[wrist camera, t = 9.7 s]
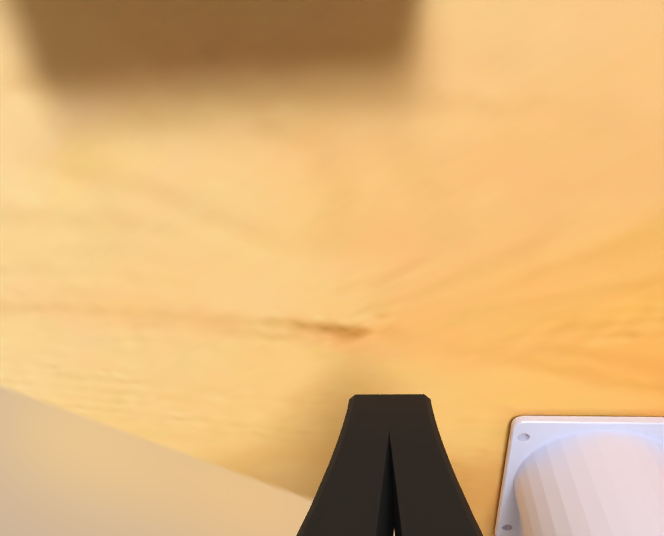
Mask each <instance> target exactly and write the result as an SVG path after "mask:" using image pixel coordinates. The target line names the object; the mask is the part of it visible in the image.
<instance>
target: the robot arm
mask: <svg viewBox="0 0 664 536" xmlns="http://www.w3.org/2000/svg"><path fill="white" fill-rule="evenodd" d="M523 433H524V434H523ZM394 531H395V536H483V534H482V532H481V530H480V528H479V526H478V524H477V522H476V520H475V518H474V516H473V514H472V511H471V509H470V507H469V505H468V503H467V500H466V498H465V496H464V494H463V492H462V489H461V487H460V485H459V483H458V481H457V478H456V476H455V473H454V471H453V469H452V466H451V464H450V461H449V459H448V456H447V453H446V451H445V448H444V445H443V443H442V440H441V437H440V434H439V431H438V428H437V424H436V421H435V417H434V414H433V410H432V405H431V400H430V399H429V398H428V397H427V396H426V395H424V394H395V395H354V396H353V397H352V398H350V400H349V404H348V409H347V413H346V416H345V420H344V423H343V427H342V430H341V433H340V436H339V439H338V442H337V444H336V447H335V450H334V452H333V455H332V458H331V460H330V463H329V465H328V468H327V470H326V472H325V475H324V477H323V479H322V482H321V484H320V486H319V489H318V491H317V493H316V496H315V498H314V500H313V503H312V505H311V507H310V509H309V511H308V513H307V515H306V517H305V519H304V521H303V523H302V525H301V527H300V530H299V531H298V533H297V536H393V533H394ZM495 536H664V417H611V416H519V417H516V418H515V419H514V420H513V421H512V423H511V430H510V436H509V442H508V449H507V455H506V462H505V468H504V474H503V481H502V487H501V494H500V500H499V506H498V513H497V519H496V526H495Z"/></svg>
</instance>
